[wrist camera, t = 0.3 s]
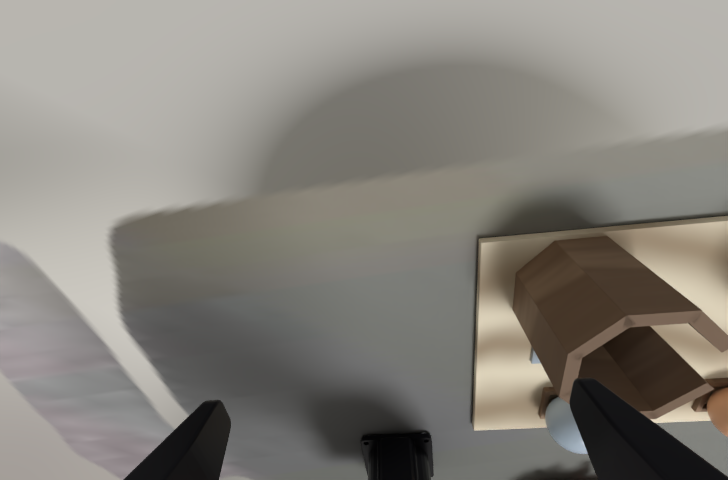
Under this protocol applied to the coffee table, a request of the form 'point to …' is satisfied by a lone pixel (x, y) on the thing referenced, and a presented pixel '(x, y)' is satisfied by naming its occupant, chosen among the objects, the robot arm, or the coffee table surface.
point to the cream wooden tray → (602, 319)
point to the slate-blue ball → (564, 426)
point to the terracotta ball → (719, 409)
